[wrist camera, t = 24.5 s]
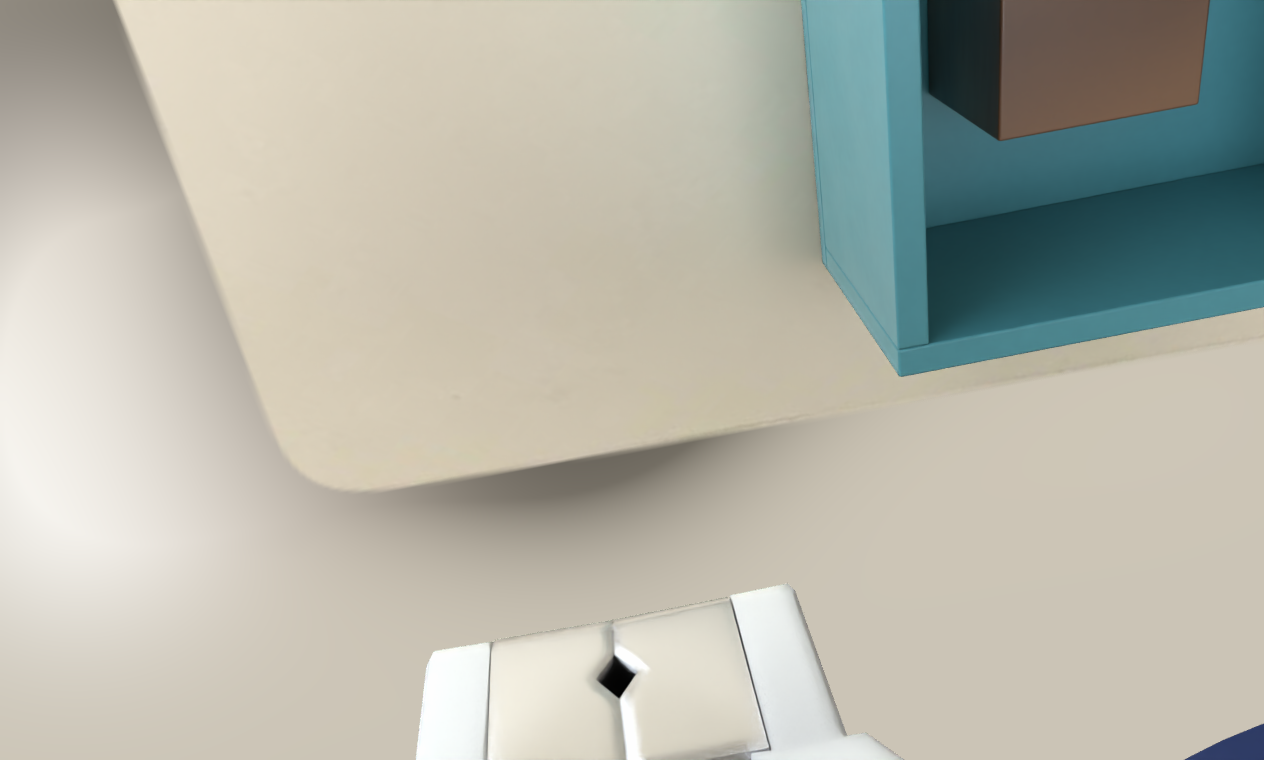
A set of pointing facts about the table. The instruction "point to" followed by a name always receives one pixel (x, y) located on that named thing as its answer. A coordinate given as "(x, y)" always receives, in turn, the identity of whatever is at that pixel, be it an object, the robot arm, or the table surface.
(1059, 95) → the block
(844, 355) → the table surface
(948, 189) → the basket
